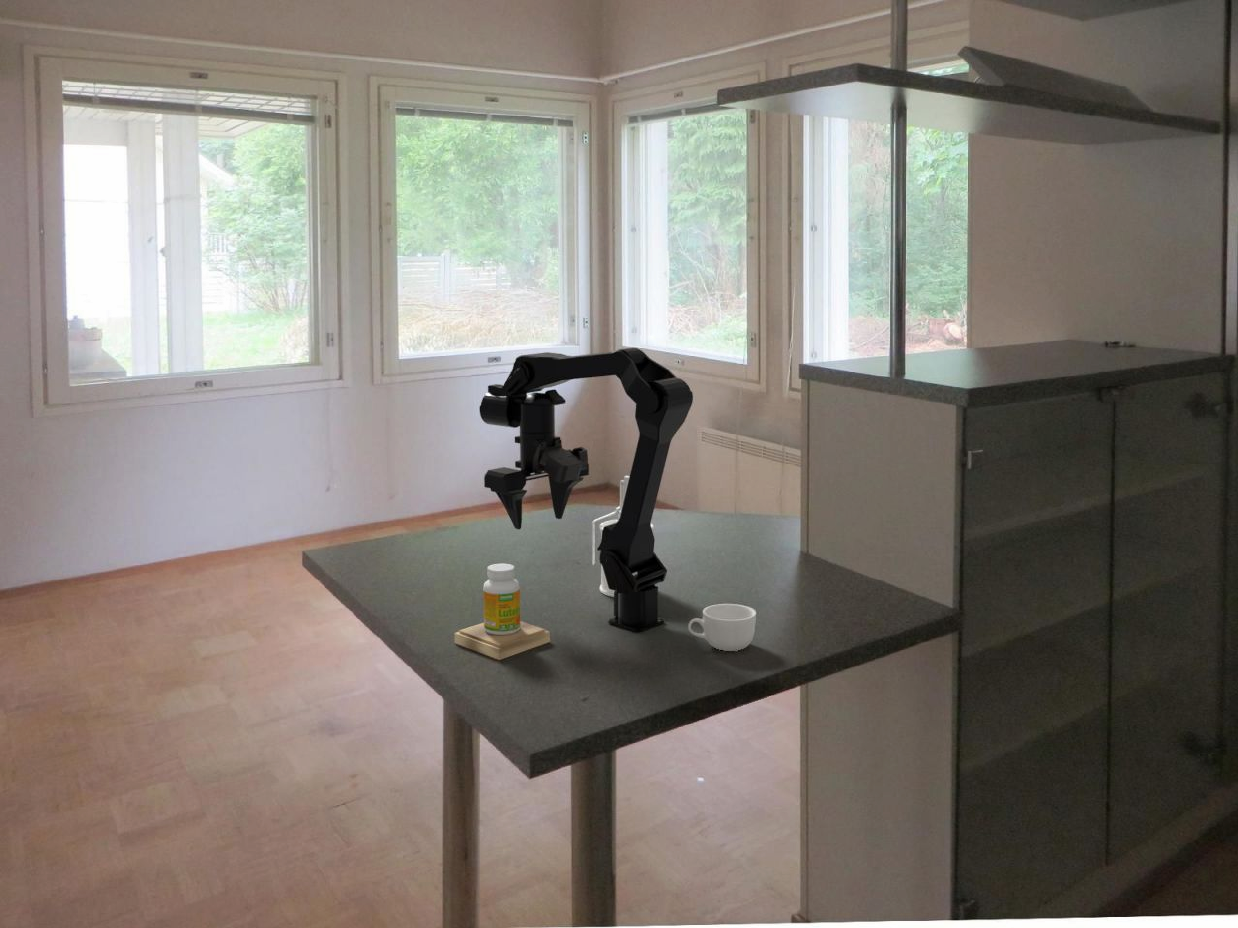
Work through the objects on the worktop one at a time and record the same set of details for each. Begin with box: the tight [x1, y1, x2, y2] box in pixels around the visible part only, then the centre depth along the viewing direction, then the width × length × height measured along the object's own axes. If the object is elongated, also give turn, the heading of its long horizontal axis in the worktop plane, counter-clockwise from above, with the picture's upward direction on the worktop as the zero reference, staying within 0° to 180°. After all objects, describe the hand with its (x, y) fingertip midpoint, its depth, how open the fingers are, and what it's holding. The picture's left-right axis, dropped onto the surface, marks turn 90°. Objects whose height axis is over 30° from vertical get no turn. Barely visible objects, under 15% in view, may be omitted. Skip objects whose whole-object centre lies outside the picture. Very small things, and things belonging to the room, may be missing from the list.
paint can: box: [591, 475, 655, 598], centre depth 189 cm, size 10×9×20 cm
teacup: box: [687, 603, 757, 652], centre depth 164 cm, size 10×8×5 cm
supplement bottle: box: [482, 563, 521, 635], centre depth 165 cm, size 5×5×10 cm
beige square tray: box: [454, 620, 551, 661], centre depth 166 cm, size 10×10×2 cm
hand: (538, 523), depth 184 cm, fingers open, 9 cm apart
